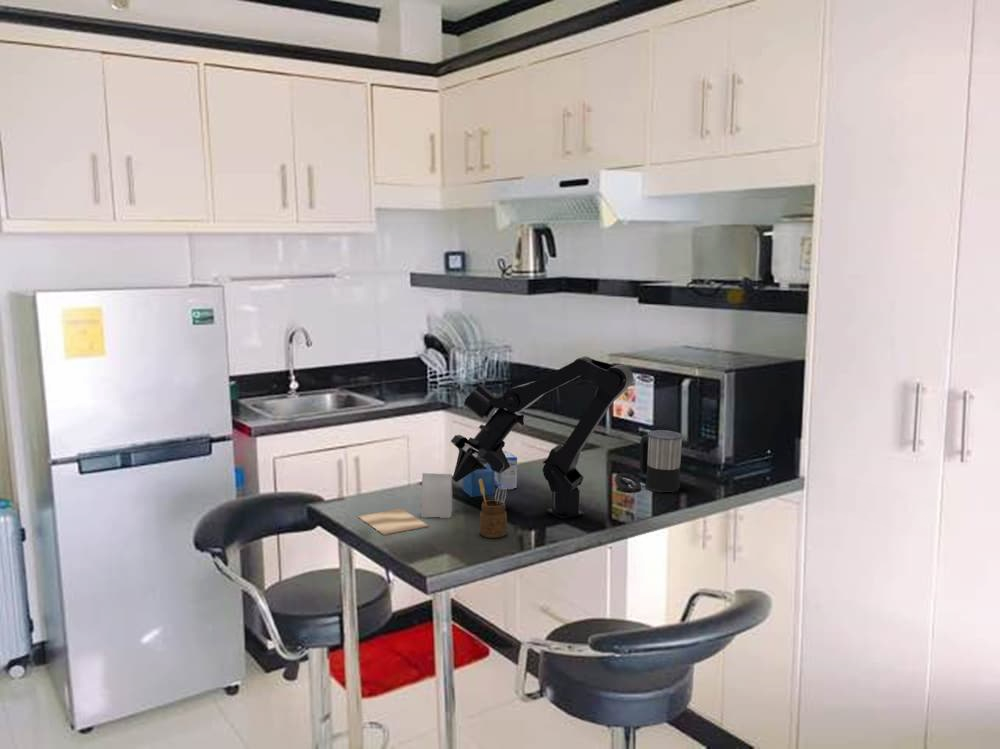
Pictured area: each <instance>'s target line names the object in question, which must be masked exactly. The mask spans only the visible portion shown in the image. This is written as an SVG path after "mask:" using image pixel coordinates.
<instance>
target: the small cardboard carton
mask: <svg viewBox="0 0 1000 749" xmlns="http://www.w3.org/2000/svg"><path fill="white" fill-rule="evenodd" d="M420 492H421V495H420V496H421V498H420V501H421V503H420V505H421V506H420V508H421V510H420V511H421V512H420V514H421V516H422V517H421V516H420V517H421V518H427V517H440V518H439V519H451V518H452V516H453V475H452V473H434V472H433V473H432V472H431V473H430V472H422V478H421V491H420ZM450 517H451V518H450Z"/></svg>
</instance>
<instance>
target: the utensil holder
mask: <svg viewBox="0 0 1000 749" xmlns="http://www.w3.org/2000/svg"><path fill="white" fill-rule="evenodd" d="M479 485H480V490H481V494H483V496H482V497H483V501H482V503H481V511H480V513H479V532H480V535H481V536H482V537H485V538H490V539H497V538H502V537H504V536H506V534H507V530H508V529H507V528H508V516H507V511H506V503H505V501H506V500H505V499H506V496H507V494H505V492H502V496H504V495H505V496H504V499H503V497H501V499H500V497H497V496H500V493H501V492H498V495H497V491H501V489H500V487H502V486H500V487H499V488H498V487H497V488H496V491H495V494H494V495H495V496H494V497H495V498H494V499H487V500H486V495H484V493H485V489H484V485H483V481H482V478H481V479H480V480H479ZM502 491H505V490H504V487H503V490H502ZM496 497H497V498H496Z"/></svg>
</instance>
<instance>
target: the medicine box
mask: <svg viewBox="0 0 1000 749" xmlns="http://www.w3.org/2000/svg"><path fill="white" fill-rule="evenodd" d="M502 450H503V449H502ZM503 452H504V454H505V456H506V458H507V460H508V463H509V465H510V468H508V469H506V470H505V471H503V472H502V473H500V474H498V473H497V472H495V480H494V486H495V487H497V488H499V487H500V486H502V487H500V488H499V489H500V491H501V490H502V491H507V489H508V490H514V488H516V489H517V483H518V482H517V480H518V479H517V478H518V477H517V474H518V473H517V472H518V457H517V456H515V455H514V454H512V452H510V451H508V450H503ZM503 487H504V490H503Z"/></svg>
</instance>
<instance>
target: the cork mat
mask: <svg viewBox="0 0 1000 749" xmlns="http://www.w3.org/2000/svg"><path fill="white" fill-rule="evenodd" d="M357 518H358V519H360V520H361V521H363V522H364V523H365V522H366V525H368V524H369V525H368V526H370V527H371V526H372V527H373V529H374V528H375V529H376V531H377V532H378V531H379V532H378V533H380V535H382V534H383V536H387V535H393V534H398V533H405V532H410V531H414V529H415V530H420V529H419V528H421V529H426V528H429V527H430V526H429V524H427V523H425V522H423V521H422V520H420V519H419V518H417V517H416V516H414V515H413V514H411V513H409V512H407V511H405V510H404V509H402V508H397V509H391V510H386V511H379V512H376V513H375V512H374V513H370V514H368V513H367V514H364V515H363V514H362V515H358V516H357ZM372 527H371V528H372ZM425 527H426V528H425ZM375 529H374V530H375Z"/></svg>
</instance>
